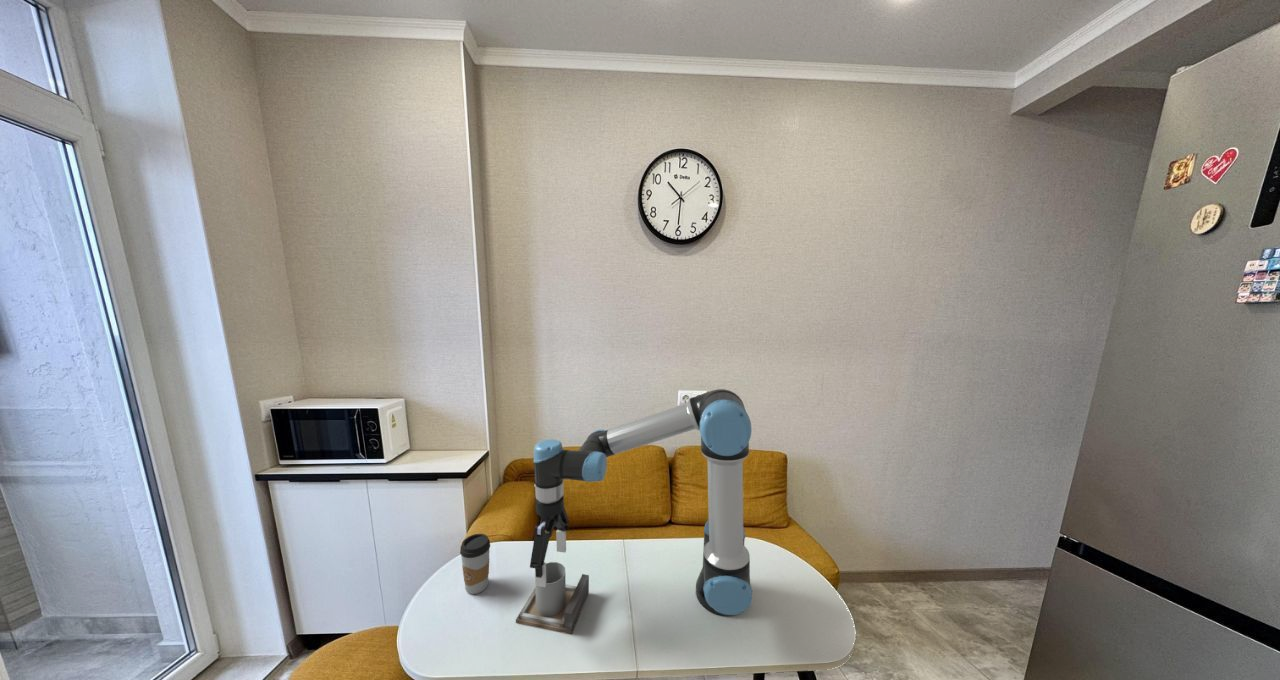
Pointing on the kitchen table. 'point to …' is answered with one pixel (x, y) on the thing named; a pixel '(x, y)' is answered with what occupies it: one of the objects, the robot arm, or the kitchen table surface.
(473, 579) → the coffee cup
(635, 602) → the kitchen table surface
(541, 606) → the cup
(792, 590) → the kitchen table surface
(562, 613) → the brown flat tray-like piece
